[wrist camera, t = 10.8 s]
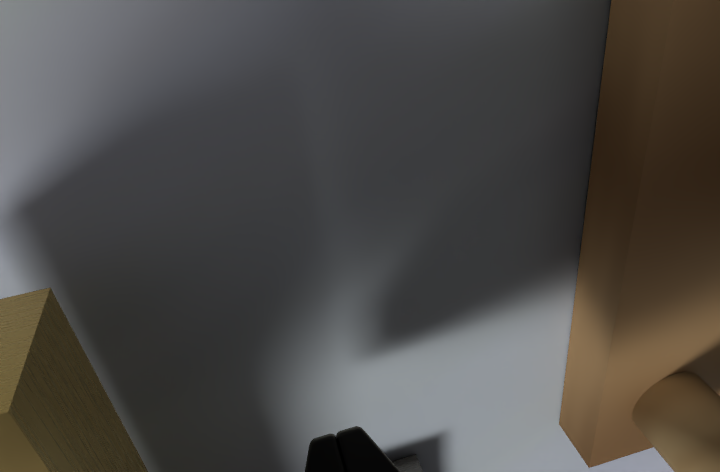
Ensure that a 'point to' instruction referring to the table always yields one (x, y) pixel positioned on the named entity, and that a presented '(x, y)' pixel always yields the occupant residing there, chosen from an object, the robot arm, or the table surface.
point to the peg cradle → (651, 245)
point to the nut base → (408, 464)
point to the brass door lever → (54, 396)
